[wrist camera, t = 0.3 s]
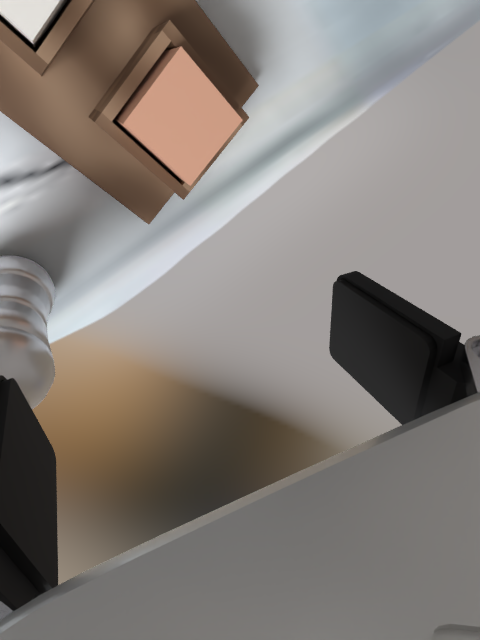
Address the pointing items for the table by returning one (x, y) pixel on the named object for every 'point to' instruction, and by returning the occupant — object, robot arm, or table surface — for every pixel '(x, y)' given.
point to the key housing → (111, 88)
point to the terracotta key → (179, 115)
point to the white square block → (30, 16)
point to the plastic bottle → (26, 326)
